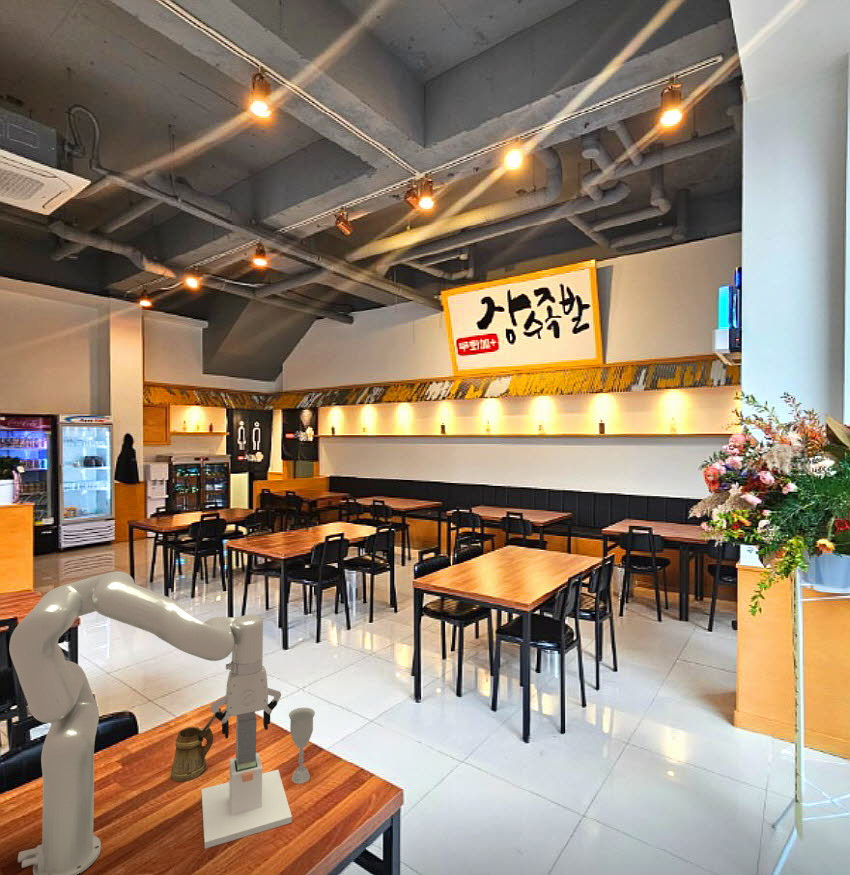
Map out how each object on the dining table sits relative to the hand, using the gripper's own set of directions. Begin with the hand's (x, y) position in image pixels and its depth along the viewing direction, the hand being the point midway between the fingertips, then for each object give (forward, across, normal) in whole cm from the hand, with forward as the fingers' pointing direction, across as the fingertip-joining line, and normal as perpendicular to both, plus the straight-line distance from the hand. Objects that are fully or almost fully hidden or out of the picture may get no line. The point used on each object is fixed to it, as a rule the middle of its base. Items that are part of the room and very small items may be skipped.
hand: (246, 731), depth 133 cm
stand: (+20, 0, 0) cm, 20 cm away
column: (+12, 0, 0) cm, 12 cm away
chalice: (+20, +16, +6) cm, 26 cm away
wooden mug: (+20, -11, +21) cm, 31 cm away
